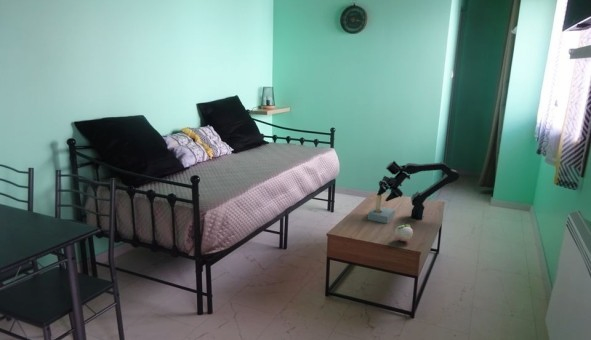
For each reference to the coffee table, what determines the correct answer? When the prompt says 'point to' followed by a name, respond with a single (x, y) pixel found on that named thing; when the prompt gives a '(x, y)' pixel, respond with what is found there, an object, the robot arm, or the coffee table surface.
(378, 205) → the pin
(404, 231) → the decorative fruit
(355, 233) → the coffee table surface
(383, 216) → the hole block
